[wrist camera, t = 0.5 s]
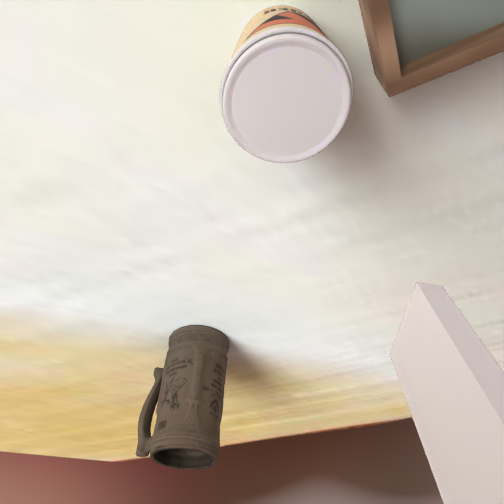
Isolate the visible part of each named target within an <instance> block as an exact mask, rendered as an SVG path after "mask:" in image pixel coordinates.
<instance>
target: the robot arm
mask: <svg viewBox="0 0 504 504" xmlns="http://www.w3.org/2000/svg"><path fill="white" fill-rule="evenodd" d="M389 354H390V357H391V360H392V362H393V365H394V368H395V371H396V373H397V376H398V379H399V382H400V384H401V387H402V390H403V393H404V395H405V398H406V401H407V404H408V406H409V409H410V412H411V415H412V417H413V420H414V423H415V425H416V428H417V431H418V434H419V437H420V439H421V442H422V445H423V447H424V450H425V453H426V456H427V458H428V461H429V464H430V467H431V469H432V472H433V475H434V478H435V480H436V483H437V486H438V489H439V491H440V494H441V497H442V500H443V502H444V504H504V371H503V370H502V368H501V367H500V366H499V364H498V363H497V362H496V360H495V359H494V357H493V356H492V355H491V353H490V352H489V350H488V349H487V348H486V346H485V345H484V343H483V342H482V341H481V339H480V338H479V337H478V335H477V334H476V332H475V331H474V330H473V328H472V327H471V325H470V324H469V323H468V321H467V320H466V318H465V317H464V316H463V314H462V313H461V311H460V310H459V309H458V307H457V306H456V305H455V303H454V302H453V300H452V299H451V298H450V296H449V295H448V293H447V292H446V291H445V289H444V288H443V286H437V285H431V284H424V283H418V282H417V283H416V285H415V288H414V290H413V293H412V296H411V298H410V301H409V304H408V306H407V309H406V311H405V314H404V317H403V319H402V322H401V325H400V327H399V330H398V332H397V335H396V338H395V340H394V343H393V346H392V348H391V351H390V353H389Z"/></svg>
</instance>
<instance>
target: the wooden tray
mask: <svg viewBox="0 0 504 504" xmlns="http://www.w3.org/2000/svg"><path fill="white" fill-rule="evenodd" d="M359 5H360V9H361V14H362V18H363V23H364V27H365V32H366V36H367V41H368V46H369V50H370V55H371V59H372V64H373V68H374V73H375V76H376V77H377V79H378V80H379V82H380V83H381V85H382V86H383V88H384V90H385V91H386V93H387V94H388V96H389V97H391V96H394V95H396V94H399V93H401V92H403V91H406V90H408V89H411V88H413V87H416V86H418V85H421V84H423V83H426V82H428V81H431V80H433V79H435V78H438V77H440V76H443V75H445V74H448V73H450V72H453V71H455V70H458V69H460V68H463V67H465V66H467V65H470V64H472V63H475V62H477V61H480V60H482V59H485V58H487V57H490V56H492V55H495V54H497V53H500V52H502V51H504V0H359Z"/></svg>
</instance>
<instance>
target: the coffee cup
mask: <svg viewBox="0 0 504 504" xmlns="http://www.w3.org/2000/svg"><path fill="white" fill-rule="evenodd" d="M352 102H353V81H352V76H351V72H350V69H349V66H348V64H347V62H346V60H345V58H344V56H343V55H342V53H341V52H340V51H339V49H338V48H337V47H336V46H335V45H334V44H333V43H332V42H331V41H330V40H329V39H328V38H327V37H326V36H325V34H324V33H323V32H322V31H321V30H320V28H319V27H318V26H317V25H316V24H315V22H314V21H313V20H312V19H311V18H310V17H309V16H308V15H306V14H305V13H304V12H302V11H301V10H299V9H296V8H294V7H290V6H283V5H280V6H272V7H269V8H266V9H264V10H262V11H261V12H259V13H257V14H256V15H255V16H254V17H253V18H252V19H251V20H250V21H249V22H248V23H247V25H246V27H245V28H244V30H243V32H242V34H241V36H240V38H239V41H238V43H237V46H236V48H235V51H234V53H233V56H232V58H231V61H230V62H229V64H228V66H227V68H226V70H225V73H224V75H223V79H222V82H221V87H220V109H221V114H222V118H223V121H224V123H225V126H226V128H227V130H228V132H229V133H230V135H231V136H232V137H233V139H234V140H235V141H236V142H237V143H238V144H239V145H240V146H241V147H242V148H243V149H245V150H246V151H248V152H249V153H250V154H252V155H254V156H256V157H258V158H260V159H263V160H266V161H270V162H276V163H290V162H297V161H301V160H304V159H307V158H309V157H312V156H313V155H315V154H317V153H319V152H320V151H322V150H323V149H324V148H326V147H327V146H328V145H329V144H330V143H331V142H332V141H333V140H334V139H335V137H336V136H337V135H338V134H339V132H340V131H341V130H342V128H343V126H344V125H345V123H346V121H347V118H348V116H349V113H350V110H351V106H352Z"/></svg>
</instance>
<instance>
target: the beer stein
mask: <svg viewBox="0 0 504 504" xmlns="http://www.w3.org/2000/svg"><path fill="white" fill-rule="evenodd" d="M228 349H229V342H228V339H227V338H226V336H225V335H224V334H222V333H221V332H219V331H218V330H215V329H213V328H210V327H206V326H193V325H190V326H185V327H182V328H179V329H177V330H175V331H174V332H173V333H172V334H171V336H170V337H169V350H168V352H167V357H166V360H165V365H164V368H158V367H157V368H155V370H154V377H155V383H154V386H153V388H152V389H151V391H150V393H149V395H148V397H147V399H146V401H145V403H144V405H143V408H142V411H141V413H140V417H139V422H138V446H137V451H136V455H137V456H139V457H146V456H148V455H149V453H150V457H151V459H152V460H153V461H154V462H156V463H158V464H160V465H163V466H166V467H171V468H177V469H202V468H208V467H211V466H213V465H214V464H215V463H216V461H217V458H218V454H219V450H220V422H221V418H222V411H223V397H224V385H225V375H226V366H227V352H228ZM157 401H158V404H157ZM156 404H157V410H156V413H157V420H156V425H155V429H154V434H153V436H152V437H151V432H150V428H151V422H152V417H153V413H154V410H155V406H156Z"/></svg>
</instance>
